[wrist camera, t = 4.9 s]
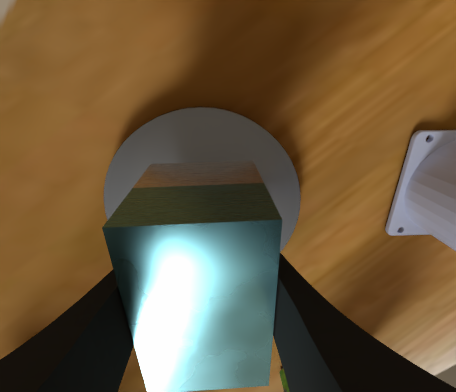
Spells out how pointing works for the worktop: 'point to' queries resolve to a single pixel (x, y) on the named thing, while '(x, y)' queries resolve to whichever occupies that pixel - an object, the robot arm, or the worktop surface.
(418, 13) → the worktop surface
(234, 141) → the slate stand
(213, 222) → the block
